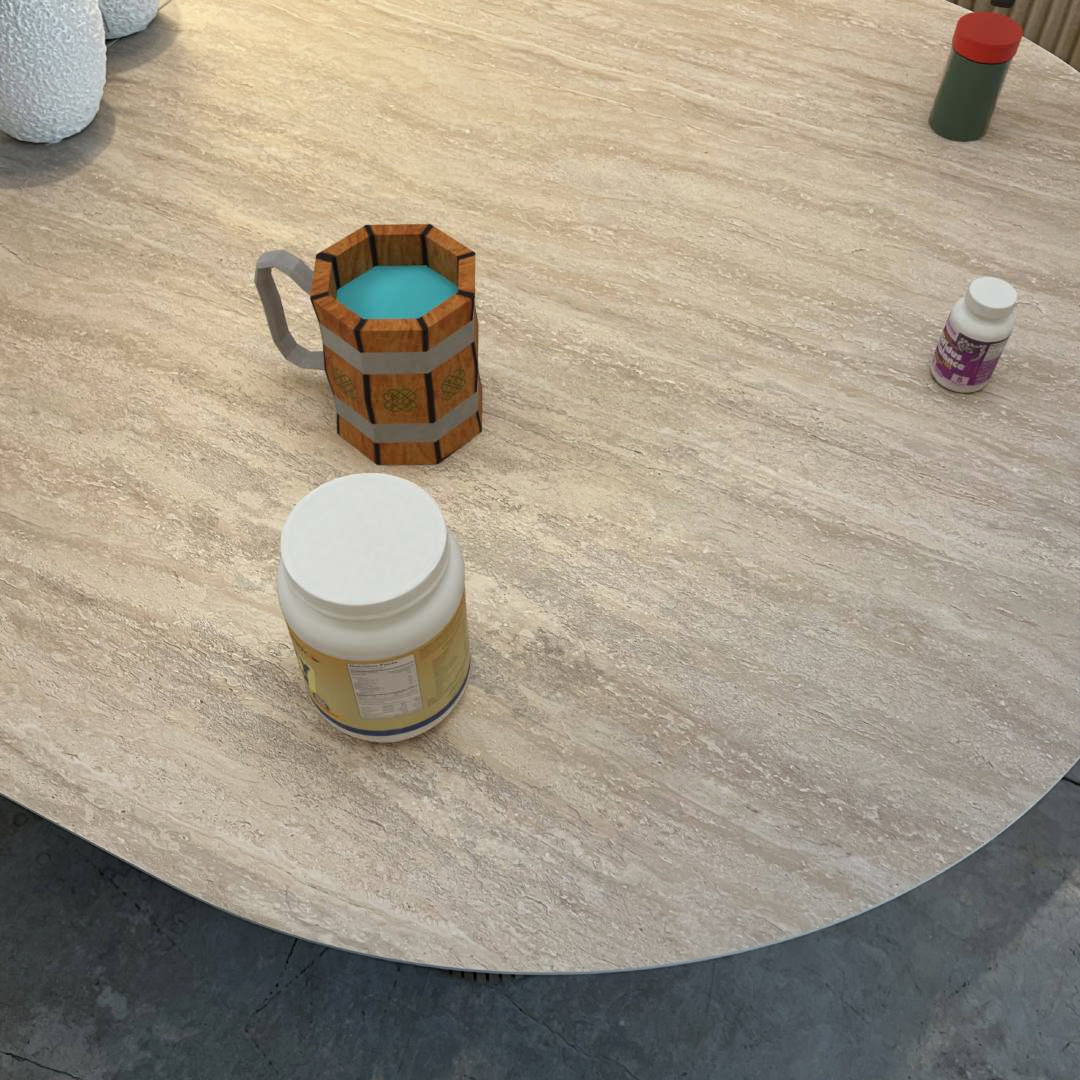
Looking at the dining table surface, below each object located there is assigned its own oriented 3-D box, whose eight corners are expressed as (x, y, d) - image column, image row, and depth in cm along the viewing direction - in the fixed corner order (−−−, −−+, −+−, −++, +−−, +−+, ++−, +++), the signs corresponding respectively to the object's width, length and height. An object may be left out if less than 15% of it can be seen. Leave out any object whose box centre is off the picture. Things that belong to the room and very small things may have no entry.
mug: (511, 379, 103) (508, 243, 91) (450, 487, 95) (439, 354, 83) (315, 324, 107) (288, 188, 95) (242, 424, 99) (202, 288, 87)
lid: (1013, 32, 122) (1020, 14, 120) (1020, 66, 118) (1027, 47, 116) (949, 27, 122) (954, 9, 120) (954, 60, 118) (959, 42, 116)
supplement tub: (298, 621, 87) (256, 476, 73) (456, 592, 89) (442, 445, 75) (316, 765, 80) (273, 634, 66) (487, 730, 81) (479, 596, 68)
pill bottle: (916, 371, 104) (947, 288, 96) (953, 345, 106) (986, 261, 98) (964, 404, 101) (1000, 322, 93) (1001, 377, 103) (1039, 294, 96)
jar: (984, 111, 129) (1016, 20, 120) (989, 144, 125) (1023, 52, 117) (926, 106, 129) (954, 15, 121) (930, 138, 125) (959, 47, 117)
